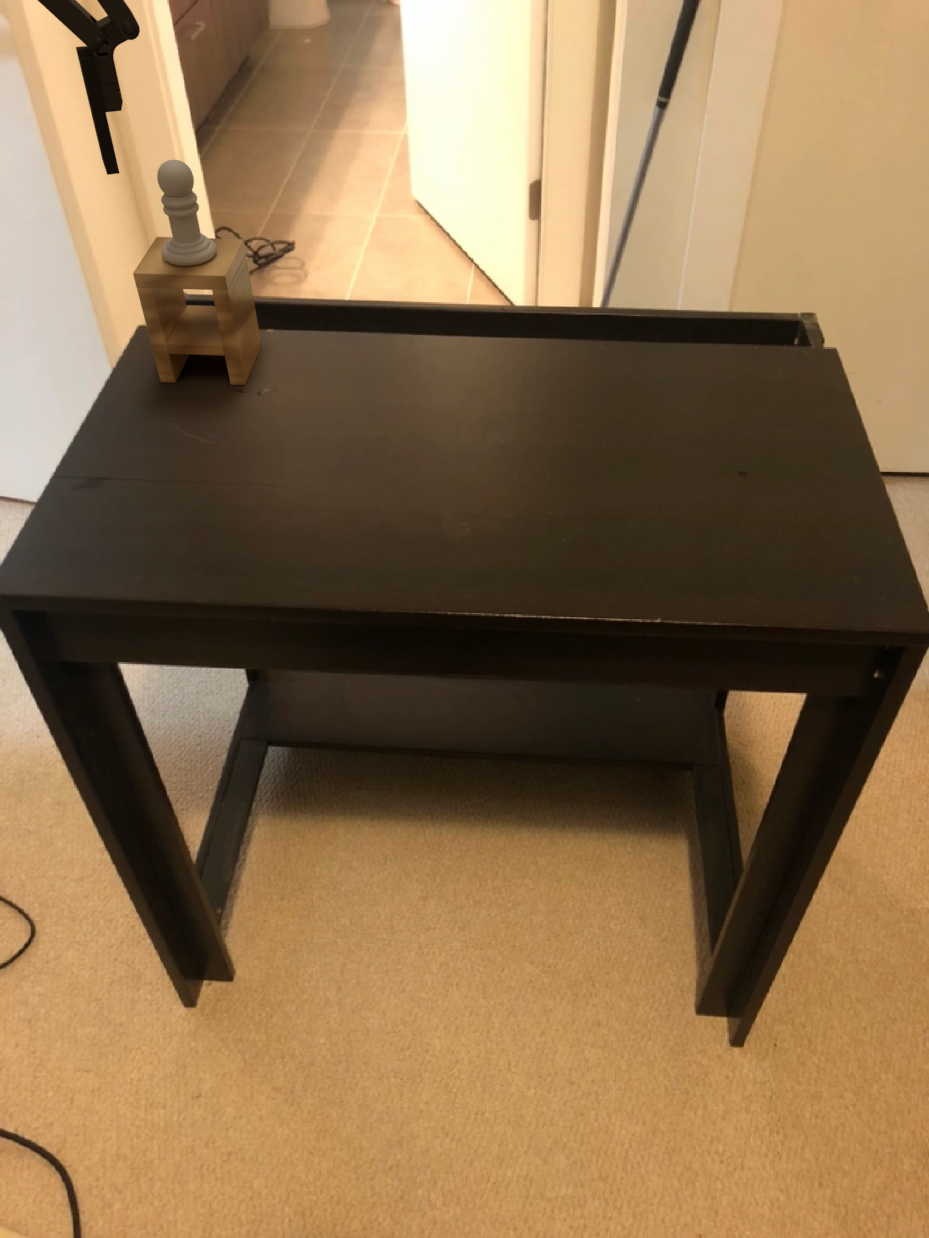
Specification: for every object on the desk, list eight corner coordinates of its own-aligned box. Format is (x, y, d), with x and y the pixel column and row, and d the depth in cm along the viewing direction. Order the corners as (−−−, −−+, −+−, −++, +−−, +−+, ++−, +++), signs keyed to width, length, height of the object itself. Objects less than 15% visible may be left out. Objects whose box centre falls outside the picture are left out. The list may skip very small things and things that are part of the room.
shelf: (160, 382, 103) (132, 273, 94) (181, 343, 108) (156, 236, 100) (245, 385, 102) (225, 276, 94) (261, 346, 108) (243, 239, 99)
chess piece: (222, 244, 98) (205, 150, 92) (210, 268, 95) (192, 173, 88) (170, 243, 99) (149, 150, 92) (156, 267, 95) (133, 172, 88)
